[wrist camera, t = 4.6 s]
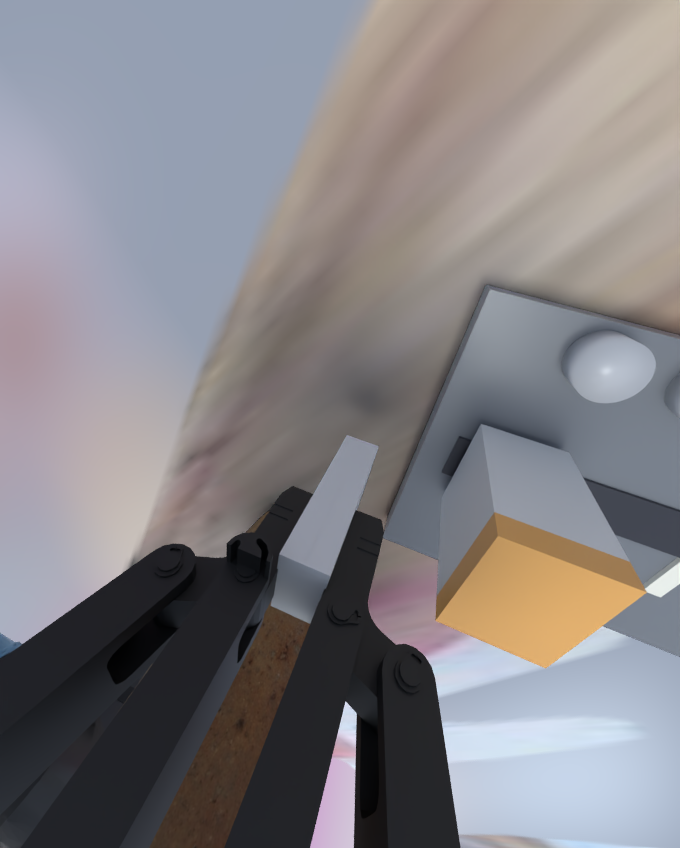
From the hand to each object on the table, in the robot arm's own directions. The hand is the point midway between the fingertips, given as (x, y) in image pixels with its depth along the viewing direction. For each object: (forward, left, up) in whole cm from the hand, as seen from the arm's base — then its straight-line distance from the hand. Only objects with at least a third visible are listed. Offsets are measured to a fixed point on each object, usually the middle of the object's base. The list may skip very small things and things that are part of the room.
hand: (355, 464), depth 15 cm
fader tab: (+7, 0, -3) cm, 8 cm away
